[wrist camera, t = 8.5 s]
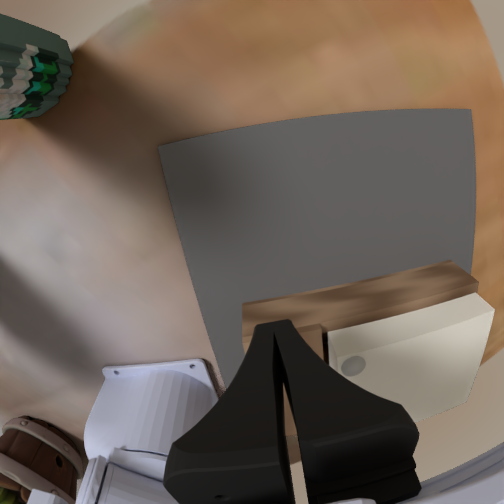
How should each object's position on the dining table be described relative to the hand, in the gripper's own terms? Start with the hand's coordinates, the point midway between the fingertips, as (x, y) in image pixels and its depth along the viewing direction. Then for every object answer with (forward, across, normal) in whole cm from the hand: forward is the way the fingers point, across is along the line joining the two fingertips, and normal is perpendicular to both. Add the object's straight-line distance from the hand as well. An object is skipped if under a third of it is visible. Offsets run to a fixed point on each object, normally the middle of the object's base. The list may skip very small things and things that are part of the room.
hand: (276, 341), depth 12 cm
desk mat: (+10, -6, +3) cm, 12 cm away
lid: (+5, -8, +9) cm, 13 cm away
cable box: (+10, -6, +8) cm, 14 cm away
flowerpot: (+10, +32, +21) cm, 40 cm away
